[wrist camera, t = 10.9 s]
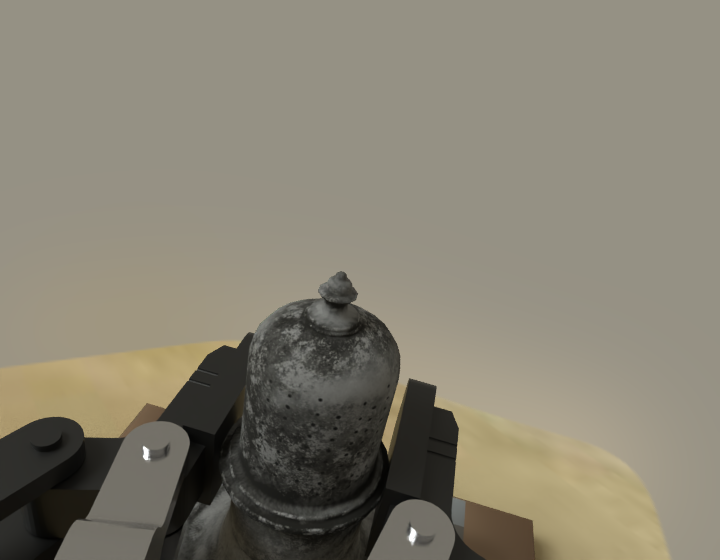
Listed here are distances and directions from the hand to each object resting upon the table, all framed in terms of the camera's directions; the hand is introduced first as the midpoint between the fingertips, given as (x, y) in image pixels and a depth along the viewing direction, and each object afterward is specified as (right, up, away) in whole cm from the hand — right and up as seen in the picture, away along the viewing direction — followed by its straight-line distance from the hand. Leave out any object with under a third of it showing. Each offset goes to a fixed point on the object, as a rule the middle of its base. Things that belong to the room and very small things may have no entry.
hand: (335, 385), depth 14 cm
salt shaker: (-2, -7, +1) cm, 8 cm away
